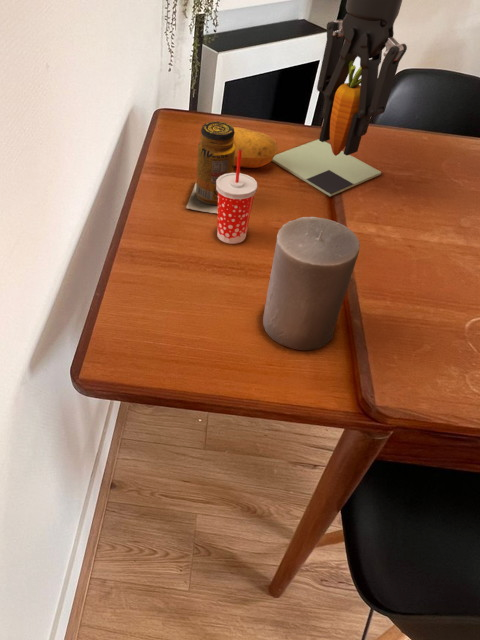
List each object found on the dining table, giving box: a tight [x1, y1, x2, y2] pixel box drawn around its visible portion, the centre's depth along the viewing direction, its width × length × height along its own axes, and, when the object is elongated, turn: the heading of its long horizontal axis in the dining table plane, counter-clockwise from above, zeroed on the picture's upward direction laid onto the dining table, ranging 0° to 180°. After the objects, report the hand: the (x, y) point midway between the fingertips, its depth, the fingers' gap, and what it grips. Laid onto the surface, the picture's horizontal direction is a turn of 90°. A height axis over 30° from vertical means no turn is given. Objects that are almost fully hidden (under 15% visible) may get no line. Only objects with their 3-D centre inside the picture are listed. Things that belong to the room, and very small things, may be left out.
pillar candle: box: [262, 216, 361, 351], centre depth 66 cm, size 10×10×15 cm
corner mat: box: [271, 138, 382, 197], centre depth 100 cm, size 16×14×1 cm
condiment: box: [185, 120, 235, 214], centre depth 86 cm, size 7×8×12 cm
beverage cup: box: [216, 149, 258, 245], centre depth 79 cm, size 6×6×14 cm
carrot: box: [329, 60, 362, 156], centre depth 86 cm, size 5×5×15 cm
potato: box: [232, 126, 278, 169], centre depth 97 cm, size 8×14×7 cm, turn 67°
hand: (338, 145), depth 90 cm, fingers closed on carrot, 5 cm apart
